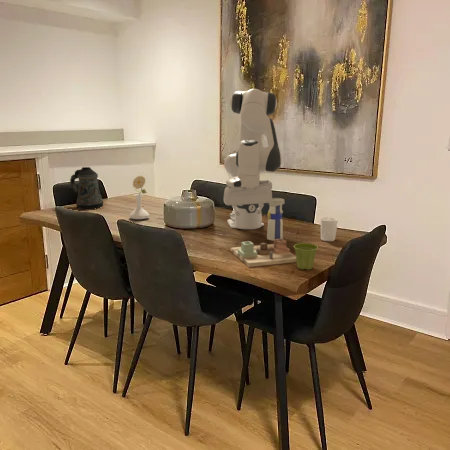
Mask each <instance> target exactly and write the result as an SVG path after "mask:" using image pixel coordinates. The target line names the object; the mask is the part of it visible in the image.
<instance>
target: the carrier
mask: <svg viewBox="0 0 450 450" xmlns="http://www.w3.org/2000/svg"><path fill="white" fill-rule="evenodd" d="M238 249H241V246H236V247H230V252H231V253H233V254H234V255H235V256H236V257H237V258H238V259H239V260H240V261H241V262H242V263H244V264H245V266H247V267H248V268H250V267H261V266H263V267H264V266H270V265H281V264H290V263H297V259H296V254H295V255H294V254H293V253H292V252H291V249H290V248H289V247H287V240H286V239H284V238H283V239H274V241H273V243H269V244H268V243H267V242H260V243H259V244H257V245H254V250H255V251H256V252H257V256H252V257H242V256H241V255H239V254H238Z"/></svg>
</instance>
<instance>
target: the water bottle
mask: <svg viewBox="0 0 450 450" xmlns="http://www.w3.org/2000/svg"><path fill="white" fill-rule="evenodd" d="M268 205H269V209H268V211H267V216H266V217H267V228H266V229H267V232H266V233H267V234H266V239H267V240H269V241H273V242H274V239H284V237H283V235H284V234H283V229H284V228H283V226H284V224H283V223H284V222H283V221H284V220H283V213H284V211H283V209H282V208H283V205H285V199H284V198H280V197H272V201H271V203H268Z"/></svg>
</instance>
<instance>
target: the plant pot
mask: <svg viewBox="0 0 450 450" xmlns="http://www.w3.org/2000/svg"><path fill="white" fill-rule="evenodd" d="M293 248H294V251H295V256H296V259H297V262H296V266H297V268H298V269H299V270H311V269H313V267H314V263H315V259H316V253H317V250H318V249H319V245H316V244H314V243H308V242H304V243H303V242H299V243H296V244H295V243H294V245H293Z"/></svg>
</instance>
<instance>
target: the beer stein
mask: <svg viewBox="0 0 450 450" xmlns="http://www.w3.org/2000/svg"><path fill="white" fill-rule="evenodd" d="M98 178H99V174H98V172H96V171H94V170H93V169H92V168H91V167H89V166H88V167H86V166H82V167H81V169H77V170H75V171H74V174H72V175H71V176H70V179H69V181H70V182H69V183H70V186H71V188H72V190H73V191H74V192H76V194H77V199H76V204H75V205H76V206H77V209H78V208H79V210H84V209H91V210H96V209H95V208H99V209H101V208H100V207H102V206H103V207H104V199H103V198H102V194H101V191H100V187H99V181H98ZM76 179H78V187H77V185H76V183H75V181H76ZM103 207H102V208H103Z"/></svg>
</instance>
